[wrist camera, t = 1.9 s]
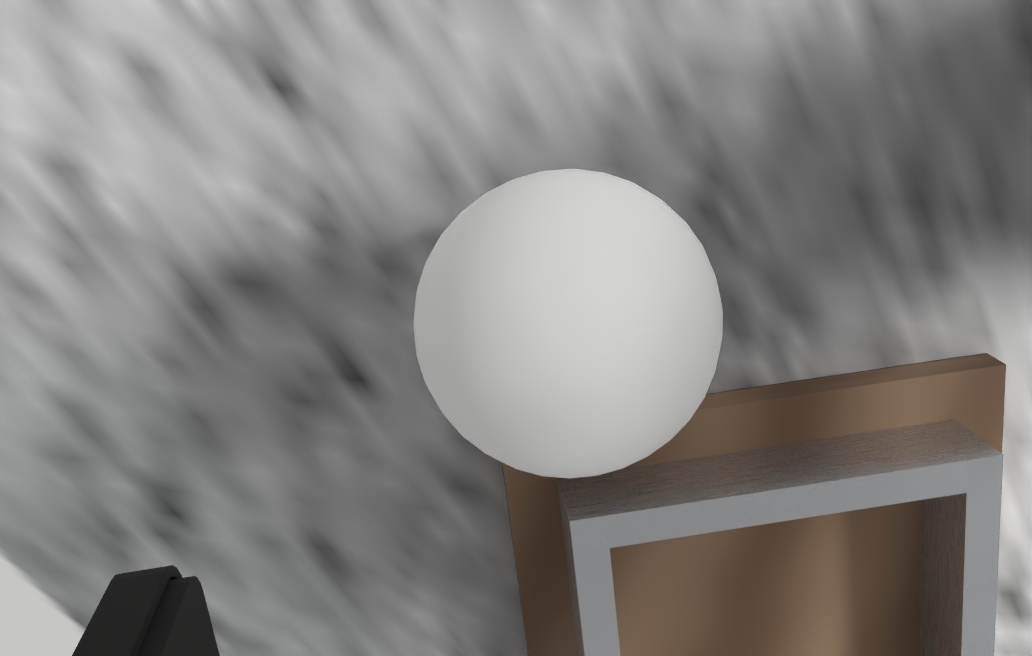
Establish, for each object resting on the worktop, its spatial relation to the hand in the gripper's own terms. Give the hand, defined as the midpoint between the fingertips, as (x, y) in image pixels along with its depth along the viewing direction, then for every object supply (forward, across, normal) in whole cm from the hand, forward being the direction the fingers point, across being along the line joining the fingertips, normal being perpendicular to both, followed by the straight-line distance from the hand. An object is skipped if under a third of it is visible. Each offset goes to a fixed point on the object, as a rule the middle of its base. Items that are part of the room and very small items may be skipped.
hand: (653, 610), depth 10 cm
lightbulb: (+18, -1, 0) cm, 18 cm away
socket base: (+18, -7, +13) cm, 23 cm away
